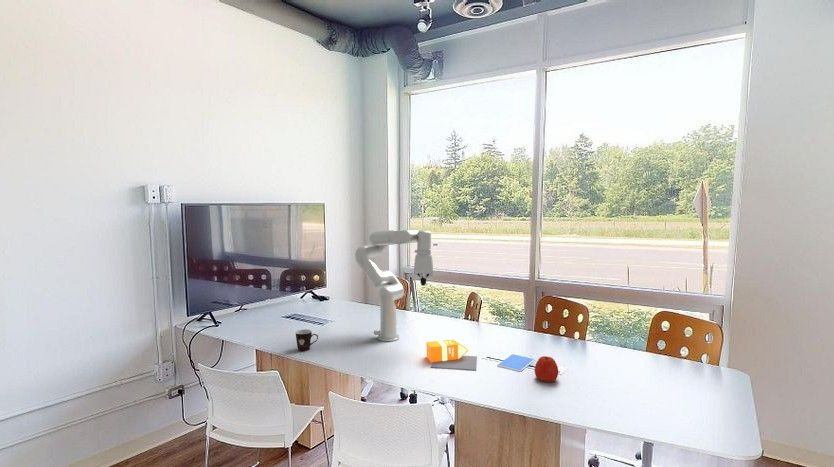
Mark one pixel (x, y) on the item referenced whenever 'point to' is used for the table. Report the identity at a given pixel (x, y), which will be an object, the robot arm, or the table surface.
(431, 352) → the orange juice
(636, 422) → the table surface
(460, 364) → the mat
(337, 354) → the table surface
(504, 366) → the tablet computer
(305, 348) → the coffee mug
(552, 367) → the apple
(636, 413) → the table surface
